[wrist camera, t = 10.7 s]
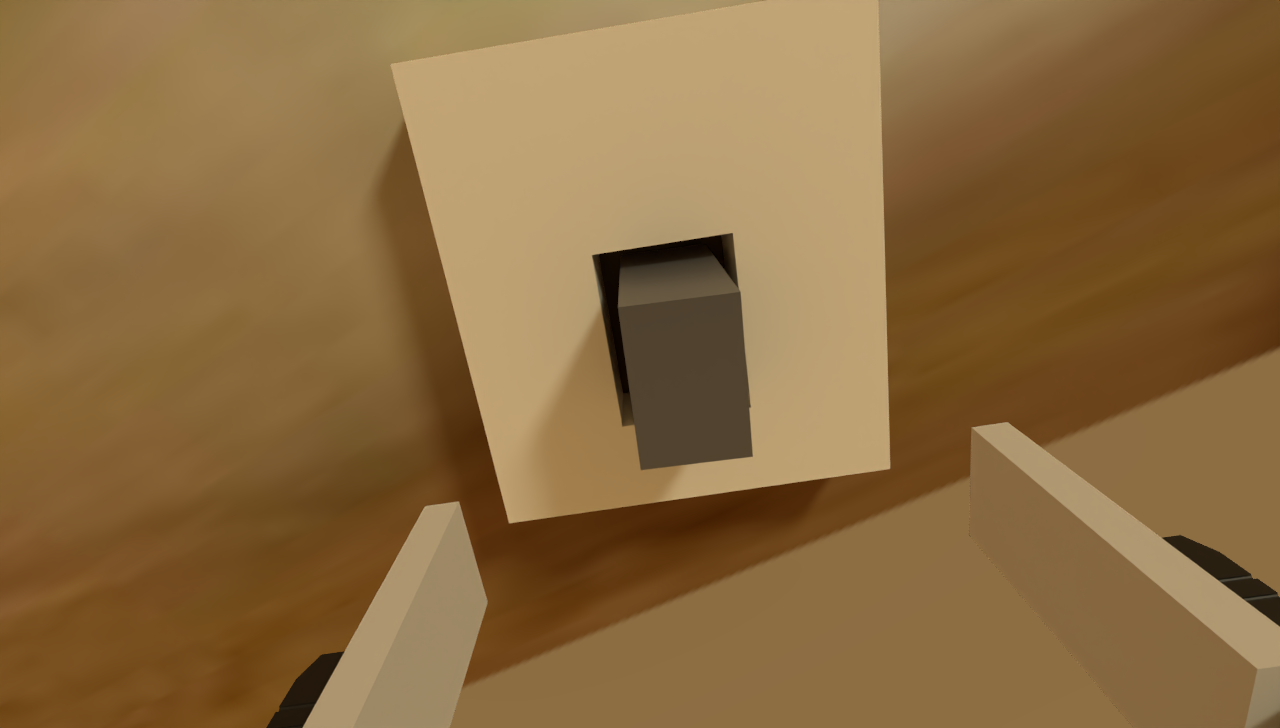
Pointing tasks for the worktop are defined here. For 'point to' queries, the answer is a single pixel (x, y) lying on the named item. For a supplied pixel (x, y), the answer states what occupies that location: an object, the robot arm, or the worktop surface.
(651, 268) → the plug
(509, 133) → the socket plate
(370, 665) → the robot arm
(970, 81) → the worktop surface
